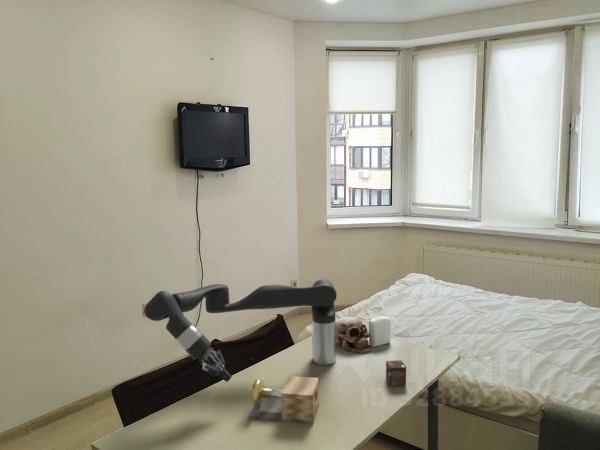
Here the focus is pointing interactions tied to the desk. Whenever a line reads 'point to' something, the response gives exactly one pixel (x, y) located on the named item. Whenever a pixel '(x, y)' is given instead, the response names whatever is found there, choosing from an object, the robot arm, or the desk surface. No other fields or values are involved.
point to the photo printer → (379, 331)
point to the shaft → (263, 392)
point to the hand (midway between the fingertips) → (229, 379)
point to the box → (396, 373)
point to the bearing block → (291, 402)
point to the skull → (352, 335)
